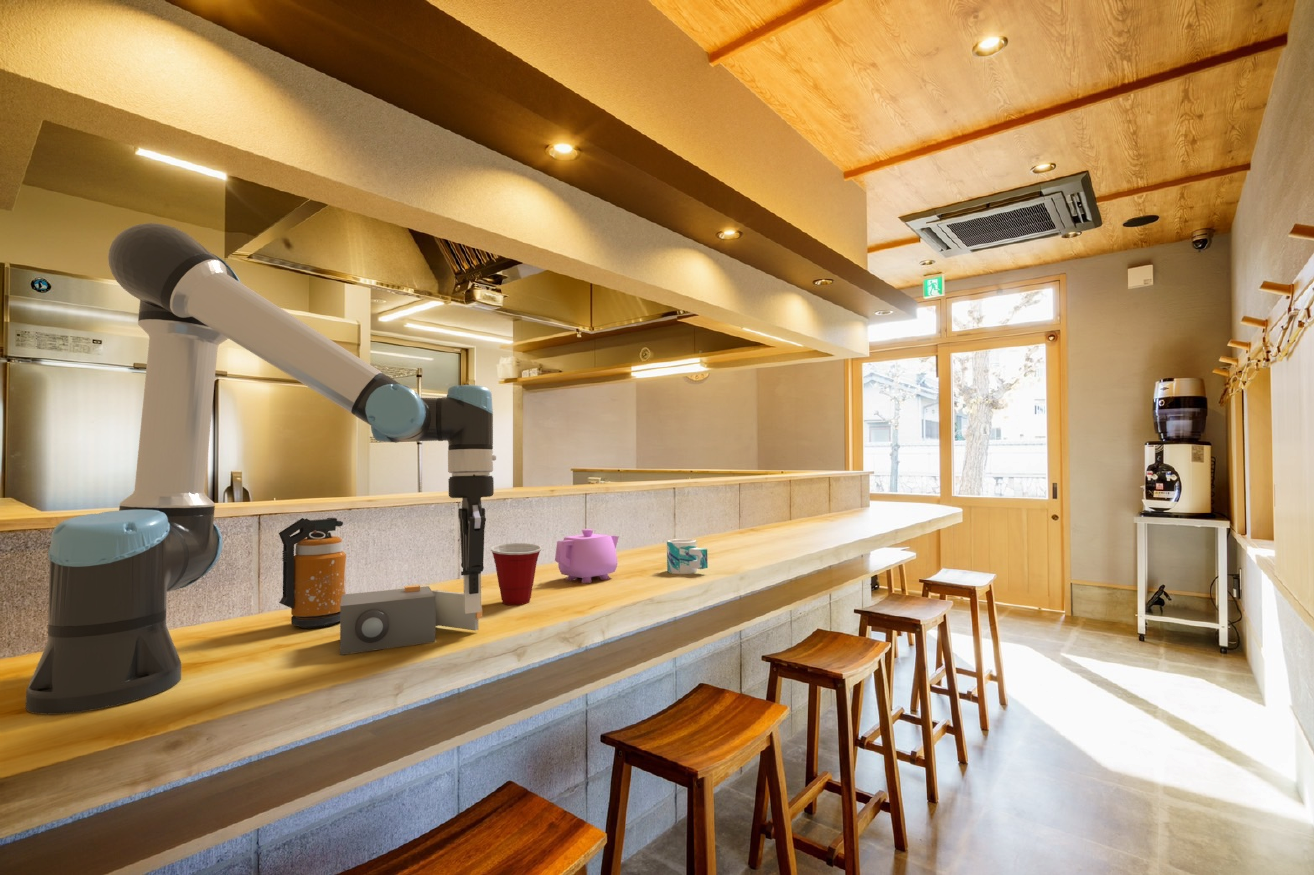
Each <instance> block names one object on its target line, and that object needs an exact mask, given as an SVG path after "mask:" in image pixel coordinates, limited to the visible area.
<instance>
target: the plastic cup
mask: <svg viewBox="0 0 1314 875" xmlns="http://www.w3.org/2000/svg"><path fill="white" fill-rule="evenodd" d="M542 548H543V547H542V546H541V545H540V544H535V543H525V542H524V543H523V542H521V543H519V542H513V543H512V542H510V543H501V544H500V543H499V544H496V545H493V546H491V547H490V549H489V550H490V552H491V553H492V557H493V561H494V562H493V563H494V564H495V565H494V566H495V572H496V575H497V576H496V577H497V582H498V588H499V592H500V597H501V602H502V604H503V605H507V606H518V605H519V606H520V605H525V604H529V603H530V602H531V598H532V593H533V586H534V581H535V575H536V569H537V562H538V558H539V556H540V552H541V551H542V550H543V549H542Z"/></svg>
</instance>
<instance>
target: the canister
mask: <svg viewBox="0 0 1314 875" xmlns="http://www.w3.org/2000/svg"><path fill="white" fill-rule="evenodd" d="M343 525H344V522H343V521H341V520H338V519H337V517H327V518H322V519H308V518H307V517H306V518H303V517H302V518H300V519H298V520H297V521H295V522H294V523H292V524H291V525H289V526H287V527H286V528H284V529H283V530H281V531H280V532H278V535H279V538H280V541H281V542H282V546H283V547H282V548H283V549H282V554H281V555H282V558H281V559H282V598H281V599H280V600H279V604H280V605H282V606H285V607H288V608H291V609H290V610H291V615H292V616H291V620H290V624H291V625H292V626H296V627H300V628H302V629H316V628H325V627H328V626H333V625H336V624H337V623H339V622H340V605H341V596H342V595H343V594H347V553H346V552H344V541H343V540H342V538H341V537H339V536H335V535H334V536H332V534H331V532H333V531H334V532H336V531H337V530H336V528H337V527H338V528H339V527H342V526H343Z"/></svg>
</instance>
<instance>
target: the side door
mask: <svg viewBox="0 0 1314 875" xmlns="http://www.w3.org/2000/svg"><path fill="white" fill-rule="evenodd" d="M432 592H433V593H434V595H435V627H438V626H439V627H445V628H446V627H447V628H453V629H454V628H455V629H462V630H467V631H468V630H469V631H475V632H476V631H479V627H480V626H479V619H482V618H483V606H482V605H481V612H476V613H467V614H465V613H464V592H455V591H446V590H445V591H444V590H438V589H436V590H432Z"/></svg>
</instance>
